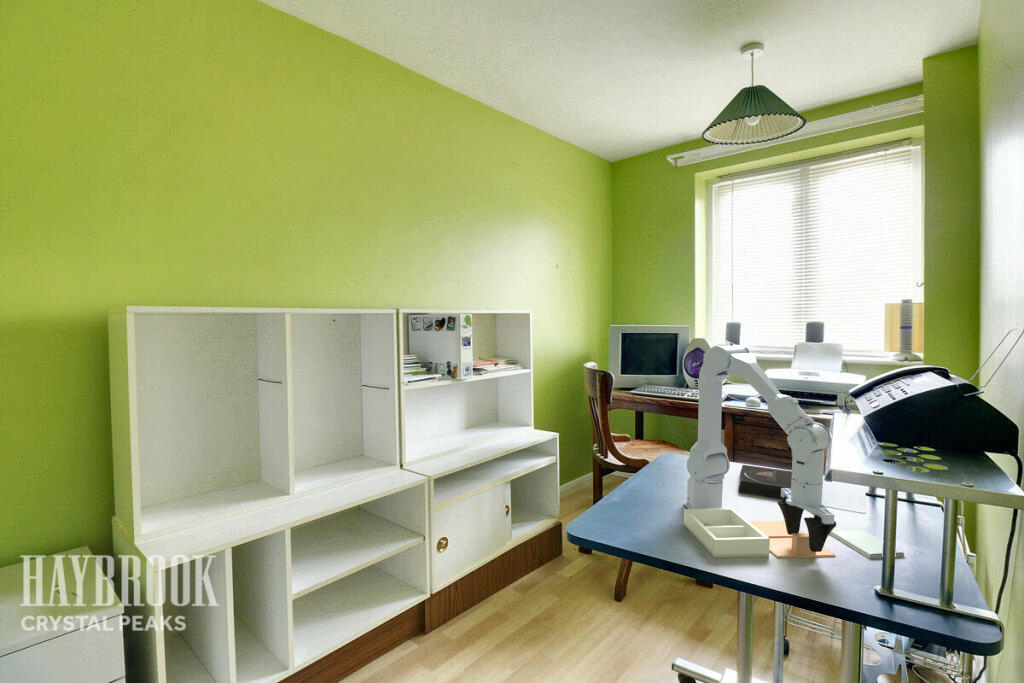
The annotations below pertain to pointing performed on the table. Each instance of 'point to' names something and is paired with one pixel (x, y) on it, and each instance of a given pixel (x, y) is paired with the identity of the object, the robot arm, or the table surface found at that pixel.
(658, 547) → the table surface
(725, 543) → the tub
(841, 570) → the table surface
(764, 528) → the lid
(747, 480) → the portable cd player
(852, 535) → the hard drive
